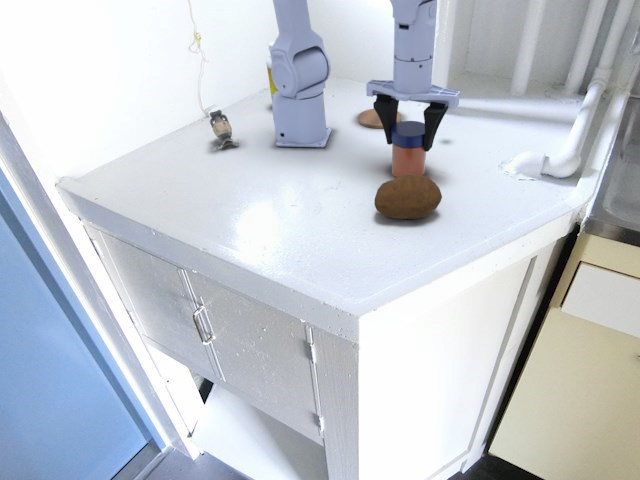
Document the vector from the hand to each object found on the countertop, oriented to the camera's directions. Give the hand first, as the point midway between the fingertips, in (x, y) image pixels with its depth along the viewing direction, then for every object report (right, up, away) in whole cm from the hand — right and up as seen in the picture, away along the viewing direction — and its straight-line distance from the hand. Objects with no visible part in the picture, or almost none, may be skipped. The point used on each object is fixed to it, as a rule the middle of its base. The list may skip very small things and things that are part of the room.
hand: (409, 145), depth 77 cm
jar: (0, -3, +3) cm, 5 cm away
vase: (-34, +5, +14) cm, 37 cm away
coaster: (-4, +12, +20) cm, 24 cm away
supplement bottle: (-24, +17, +27) cm, 40 cm away
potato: (-1, -13, -6) cm, 14 cm away
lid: (0, +2, -2) cm, 2 cm away
